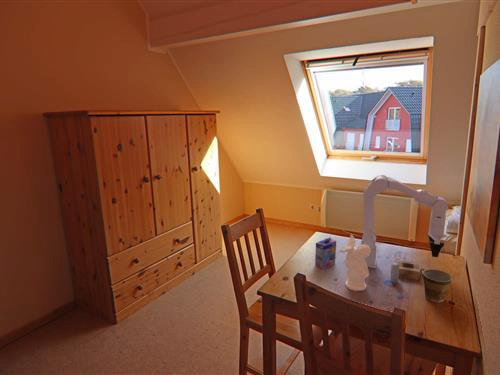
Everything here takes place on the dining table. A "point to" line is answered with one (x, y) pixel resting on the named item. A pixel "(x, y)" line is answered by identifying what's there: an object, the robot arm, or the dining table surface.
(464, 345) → the dining table surface
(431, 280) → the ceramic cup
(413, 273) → the socket block
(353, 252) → the cherub figurine
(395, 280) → the dowel
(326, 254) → the ink cartridge box
